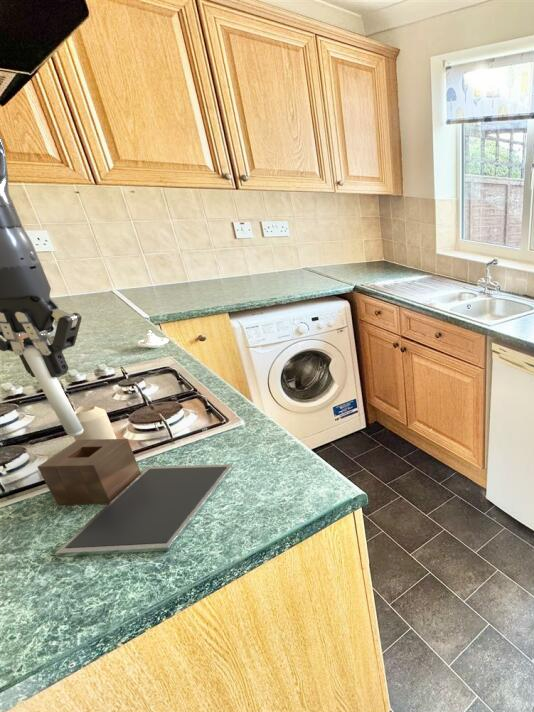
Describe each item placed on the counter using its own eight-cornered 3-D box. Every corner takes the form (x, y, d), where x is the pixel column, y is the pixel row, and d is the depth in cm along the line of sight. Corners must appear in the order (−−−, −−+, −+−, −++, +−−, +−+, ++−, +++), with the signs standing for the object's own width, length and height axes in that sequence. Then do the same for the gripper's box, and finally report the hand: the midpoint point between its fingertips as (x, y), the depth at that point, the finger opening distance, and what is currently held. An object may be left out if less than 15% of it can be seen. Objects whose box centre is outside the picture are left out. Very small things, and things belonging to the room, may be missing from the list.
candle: (83, 450, 84) (63, 406, 80) (119, 441, 88) (102, 399, 83) (82, 463, 80) (62, 418, 76) (120, 453, 84) (103, 410, 80)
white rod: (65, 439, 69) (16, 350, 61) (75, 431, 70) (28, 345, 63) (79, 438, 69) (31, 350, 61) (88, 431, 71) (43, 345, 63)
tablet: (56, 557, 61) (54, 552, 61) (149, 469, 80) (148, 466, 80) (169, 551, 63) (168, 546, 63) (234, 467, 82) (233, 463, 82)
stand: (57, 505, 70) (37, 466, 67) (93, 476, 77) (77, 439, 74) (110, 503, 71) (93, 465, 68) (141, 474, 79) (127, 438, 75)
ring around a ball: (135, 352, 130) (168, 349, 133) (129, 335, 127) (162, 332, 131) (141, 345, 136) (171, 342, 140) (135, 328, 134) (167, 326, 137)
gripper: (-92, 263, 53) (-26, 385, 61) (32, 267, 55) (81, 385, 63) (-31, 255, 60) (21, 366, 67) (78, 258, 62) (117, 366, 69)
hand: (50, 374), depth 65 cm, fingers closed on white rod, 2 cm apart
